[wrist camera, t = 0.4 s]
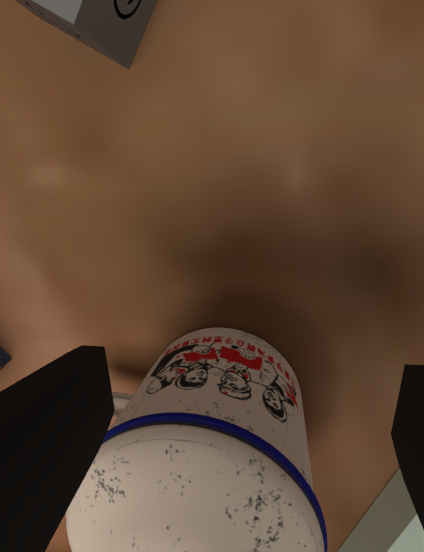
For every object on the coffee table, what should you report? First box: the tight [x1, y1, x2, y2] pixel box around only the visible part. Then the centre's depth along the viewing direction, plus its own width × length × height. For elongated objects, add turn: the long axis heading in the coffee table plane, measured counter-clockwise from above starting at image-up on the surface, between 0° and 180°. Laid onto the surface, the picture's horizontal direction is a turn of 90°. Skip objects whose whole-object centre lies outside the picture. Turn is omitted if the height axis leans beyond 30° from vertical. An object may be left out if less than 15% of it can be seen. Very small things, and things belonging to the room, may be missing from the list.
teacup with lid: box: [66, 328, 327, 552], centre depth 15 cm, size 12×9×12 cm
